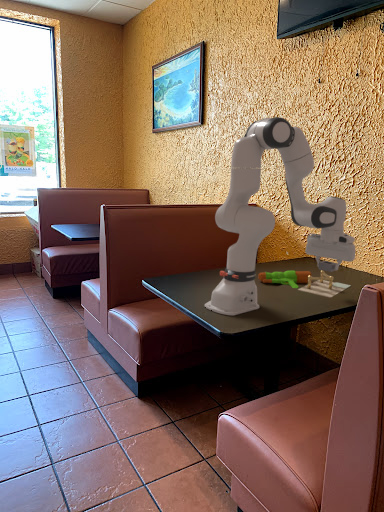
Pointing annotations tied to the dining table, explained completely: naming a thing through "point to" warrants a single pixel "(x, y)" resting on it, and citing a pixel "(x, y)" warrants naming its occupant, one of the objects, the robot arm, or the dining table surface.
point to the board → (322, 289)
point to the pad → (341, 285)
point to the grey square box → (326, 266)
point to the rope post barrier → (321, 279)
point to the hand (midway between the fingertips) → (327, 268)
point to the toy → (285, 277)
